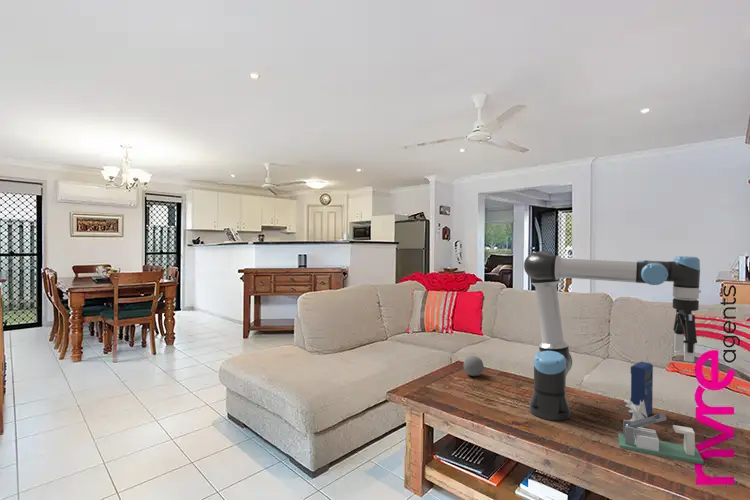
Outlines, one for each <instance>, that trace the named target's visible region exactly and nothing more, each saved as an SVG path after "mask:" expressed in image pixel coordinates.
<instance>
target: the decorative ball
mask: <svg viewBox="0 0 750 500" xmlns="http://www.w3.org/2000/svg"><path fill="white" fill-rule="evenodd" d="M484 367H485V366H484V363H483V361H482V359H481V358H480V357H479V356H476V355H470V356H467V357H466V358H465V359H464V361H463V370H464V372H465V373H466V374H467V375H469V376H471V377H478V376H480V375H481V374H482V373H483V372H484V369H485V368H484Z"/></svg>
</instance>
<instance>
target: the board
mask: <svg viewBox="0 0 750 500" xmlns="http://www.w3.org/2000/svg"><path fill="white" fill-rule="evenodd" d="M629 420H630V419H623V429H622V430H623V433H619V432H618V433H617V439H618V443H619V444H618V445H619V448H620V449H623V450H629V451H633V452H638V453H643V454H648V455H653V456H658V457H663V458H668V459H674V460H678V461H683V462H689V463H693V464H697V465H698V464H699V465H704V464H705V461H704V458H702V455H701V454H700V451H699V450H698V448H697V447H695V455H694V456H693V455H688V454H686V452H685V450H684V444H678V443H672V442H668V441H662V440H660V439H659V436H658V434H657V432H656V429H650V428H645V427H644V428H640V427H638V428H634V427H629V426H625V422H632V421H629Z"/></svg>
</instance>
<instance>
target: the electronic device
mask: <svg viewBox="0 0 750 500" xmlns="http://www.w3.org/2000/svg"><path fill="white" fill-rule="evenodd" d="M653 370H654V365H653V364H652V363H650V362H646V361H639V362H636V363H634V364H633V365H631V366H630V398H629V400H631V401H632V402H633V404H636V406H637V405H639V406H640V400H641V402H643V400H644V404H645V408H646V413H647V417H650V416H651V415H652V413H653V389H654V388H653V386H654V385H653V384H654V383H653V381H654V380H653V378H654V377H653V375H654V371H653ZM629 414H630V416H631V417H632V416H633V413H630V412H629ZM641 414H642V413H641ZM642 415H643V416H644V417H645V418H646V416H645V415H644V414H642Z"/></svg>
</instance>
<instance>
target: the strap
mask: <svg viewBox="0 0 750 500" xmlns="http://www.w3.org/2000/svg"><path fill="white" fill-rule="evenodd" d="M664 421H667V417H666V415H665V412H661V413H656V414H654V415H652V416H651V415H650V416H647V418H644V419H640V420H636V421H633V422H625V426H629V427H634V428H638V427H641V426H643V427H646V426H645V425H647V426H649V425H653V424H657V423H659V422H660V423H661V422H664Z"/></svg>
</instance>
